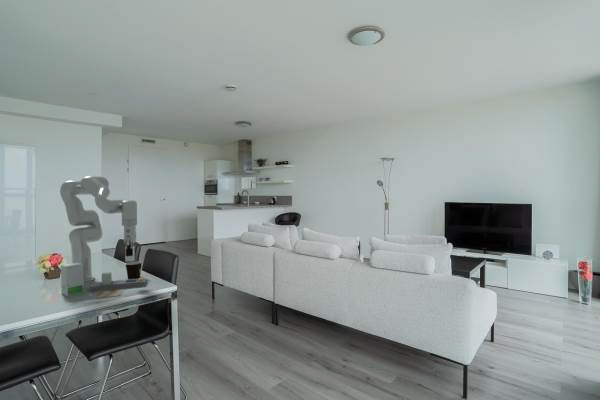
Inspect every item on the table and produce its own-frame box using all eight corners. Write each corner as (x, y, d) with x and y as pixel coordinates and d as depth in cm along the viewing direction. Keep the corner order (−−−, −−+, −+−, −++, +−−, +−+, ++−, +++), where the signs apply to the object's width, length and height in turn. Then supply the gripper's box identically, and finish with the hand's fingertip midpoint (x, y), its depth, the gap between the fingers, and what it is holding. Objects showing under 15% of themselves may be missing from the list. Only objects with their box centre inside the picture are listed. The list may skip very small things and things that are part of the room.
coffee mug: (135, 281, 187) (134, 265, 186) (122, 281, 189) (122, 264, 188) (148, 276, 198) (148, 260, 198) (136, 275, 200) (136, 260, 200)
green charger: (102, 289, 172) (101, 274, 172) (103, 287, 175) (103, 272, 175) (110, 288, 173) (110, 273, 173) (111, 286, 177) (111, 272, 176)
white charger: (125, 261, 176) (125, 247, 175) (126, 260, 179) (126, 246, 179) (133, 261, 177) (133, 246, 177) (134, 259, 180) (134, 245, 180)
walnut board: (95, 299, 157) (94, 298, 157) (100, 292, 168) (100, 291, 168) (120, 296, 161) (120, 295, 161) (124, 290, 171) (124, 289, 171)
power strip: (90, 292, 168) (89, 285, 168) (94, 287, 176) (94, 281, 176) (144, 286, 177) (144, 280, 177) (146, 282, 184) (145, 276, 184)
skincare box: (66, 297, 161) (65, 266, 161) (60, 294, 165) (59, 265, 164) (84, 292, 168) (83, 263, 168) (78, 290, 172) (77, 261, 171)
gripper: (134, 224, 171) (135, 257, 171) (139, 220, 186) (139, 251, 187) (118, 224, 168) (119, 258, 169) (124, 221, 184) (125, 252, 184)
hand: (129, 254), depth 178 cm, fingers closed on white charger, 3 cm apart
